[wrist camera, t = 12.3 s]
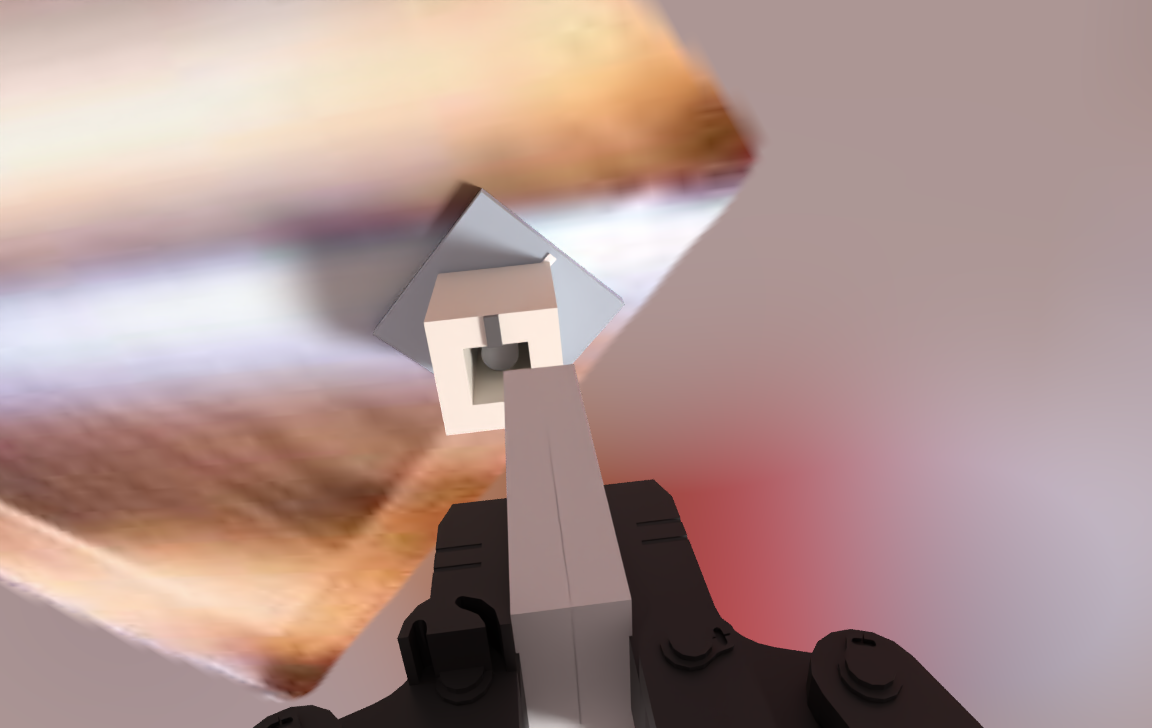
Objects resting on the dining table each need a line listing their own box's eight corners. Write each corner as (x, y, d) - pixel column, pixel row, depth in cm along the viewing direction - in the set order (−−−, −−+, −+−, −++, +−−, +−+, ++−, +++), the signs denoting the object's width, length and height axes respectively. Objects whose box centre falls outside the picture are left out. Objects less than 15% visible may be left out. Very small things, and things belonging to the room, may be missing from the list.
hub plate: (375, 327, 45) (356, 371, 39) (481, 188, 42) (478, 212, 35) (515, 418, 49) (517, 471, 43) (622, 298, 46) (640, 337, 40)
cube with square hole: (456, 372, 46) (446, 438, 38) (437, 273, 42) (422, 324, 35) (559, 360, 46) (569, 423, 39) (549, 261, 43) (557, 309, 35)
